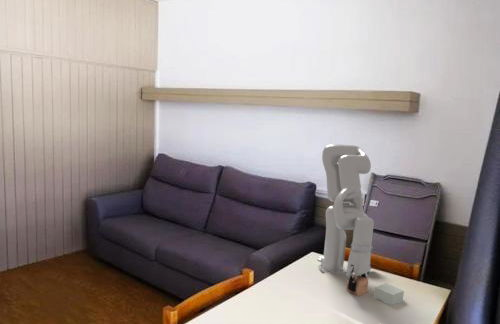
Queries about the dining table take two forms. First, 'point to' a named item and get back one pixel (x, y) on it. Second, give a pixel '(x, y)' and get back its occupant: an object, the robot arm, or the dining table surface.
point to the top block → (359, 285)
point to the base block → (388, 293)
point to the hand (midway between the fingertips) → (356, 288)
